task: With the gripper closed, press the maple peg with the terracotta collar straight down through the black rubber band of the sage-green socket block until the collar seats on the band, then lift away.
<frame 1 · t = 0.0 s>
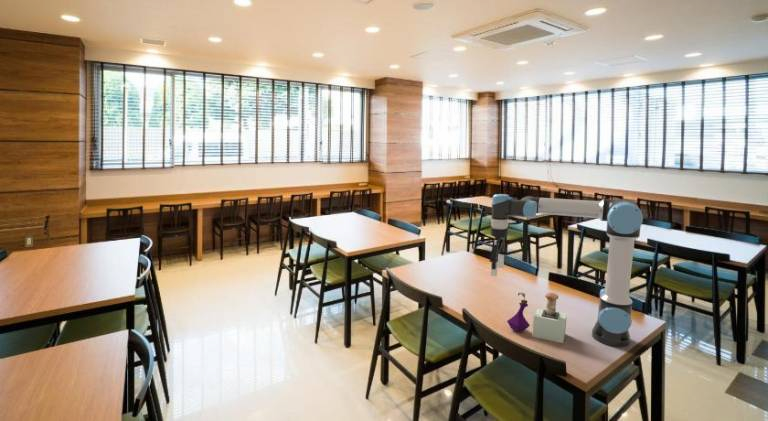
hand: (497, 271, 189), 28 cm above the table, fingers open, 13 cm apart
socket block: (548, 335, 185), on the table
peg: (551, 305, 183), point 15 cm above the table, slide at 0.0 cm
perfume bottle: (517, 330, 190), on the table
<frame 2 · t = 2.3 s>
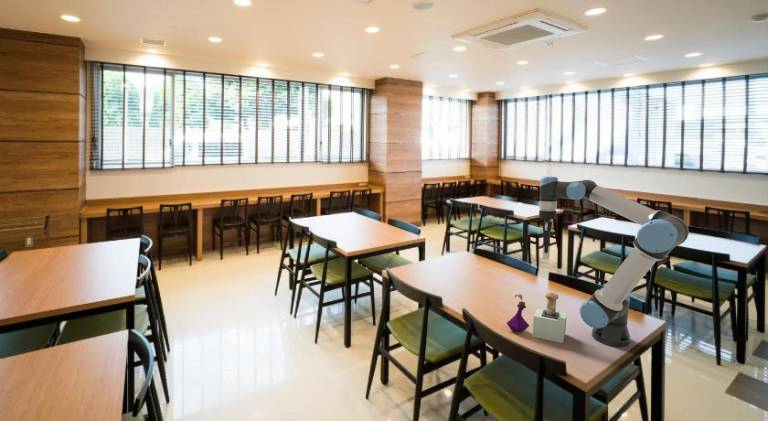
hand: (546, 259, 189), 34 cm above the table, fingers closed
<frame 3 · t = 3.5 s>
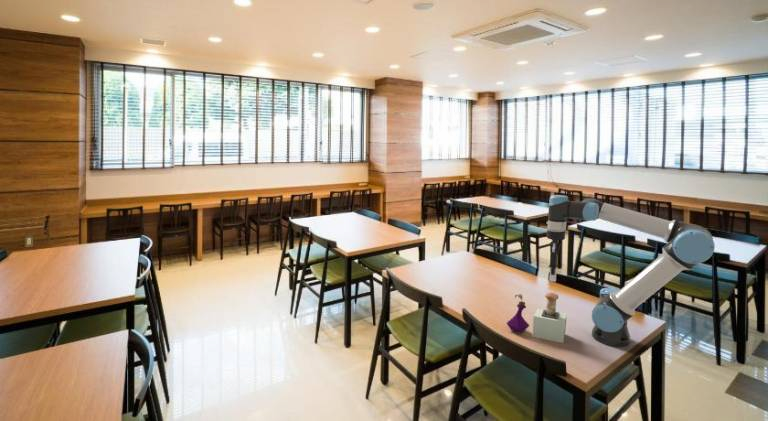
hand: (552, 280, 181), 26 cm above the table, fingers closed
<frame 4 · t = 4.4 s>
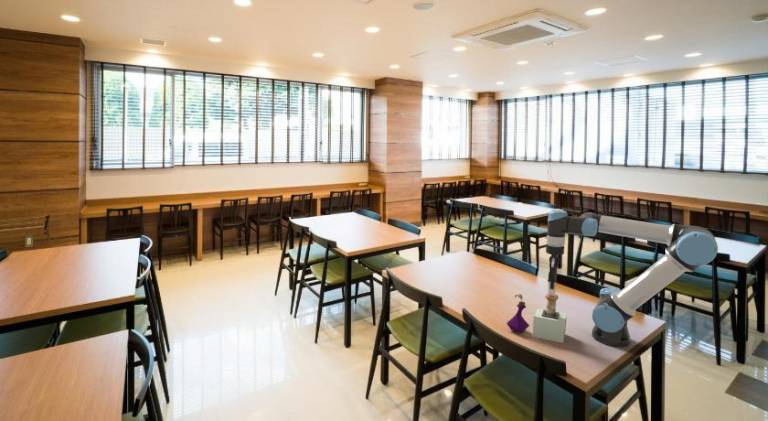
hand: (551, 295, 182), 20 cm above the table, fingers closed
peg: (551, 306, 183), point 14 cm above the table, slide at 0.3 cm, touching gripper
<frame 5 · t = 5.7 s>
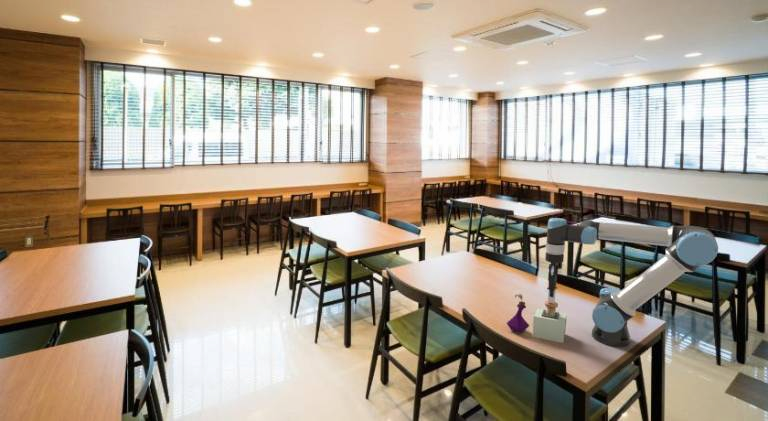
hand: (551, 302, 183), 16 cm above the table, fingers closed
peg: (550, 313, 183), point 11 cm above the table, slide at 3.9 cm, touching gripper
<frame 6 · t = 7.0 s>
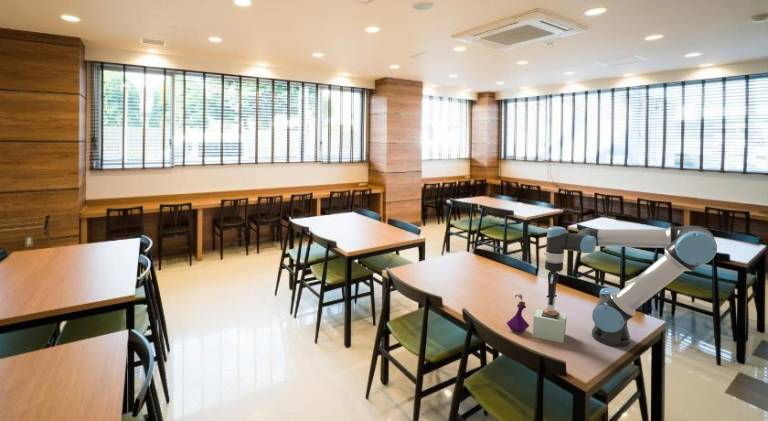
hand: (550, 310, 183), 12 cm above the table, fingers closed
peg: (549, 321, 184), point 7 cm above the table, slide at 7.8 cm, touching gripper
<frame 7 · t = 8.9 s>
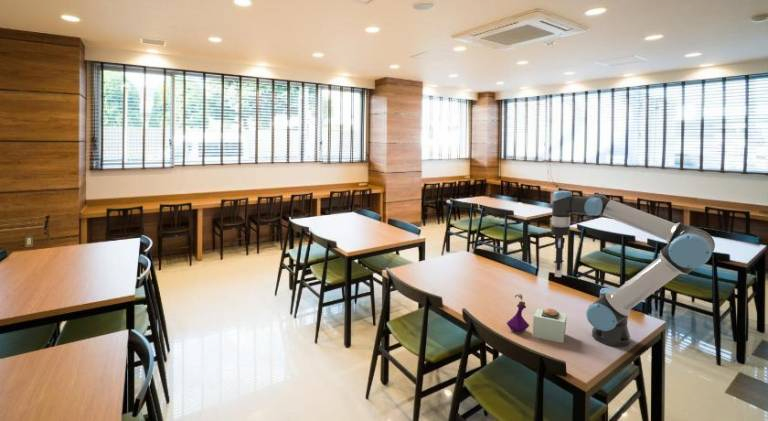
hand: (558, 276, 182), 28 cm above the table, fingers closed
peg: (549, 321, 184), point 7 cm above the table, slide at 7.8 cm
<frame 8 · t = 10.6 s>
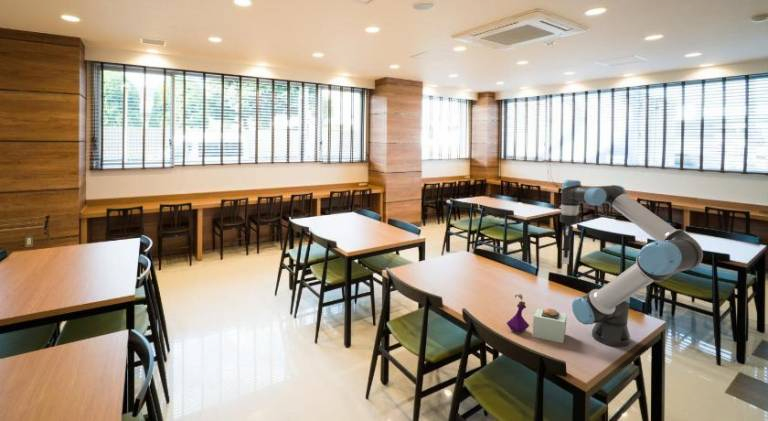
hand: (565, 263, 187), 32 cm above the table, fingers closed
at the end: peg slide at 7.8 cm; peg touching nothing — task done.
